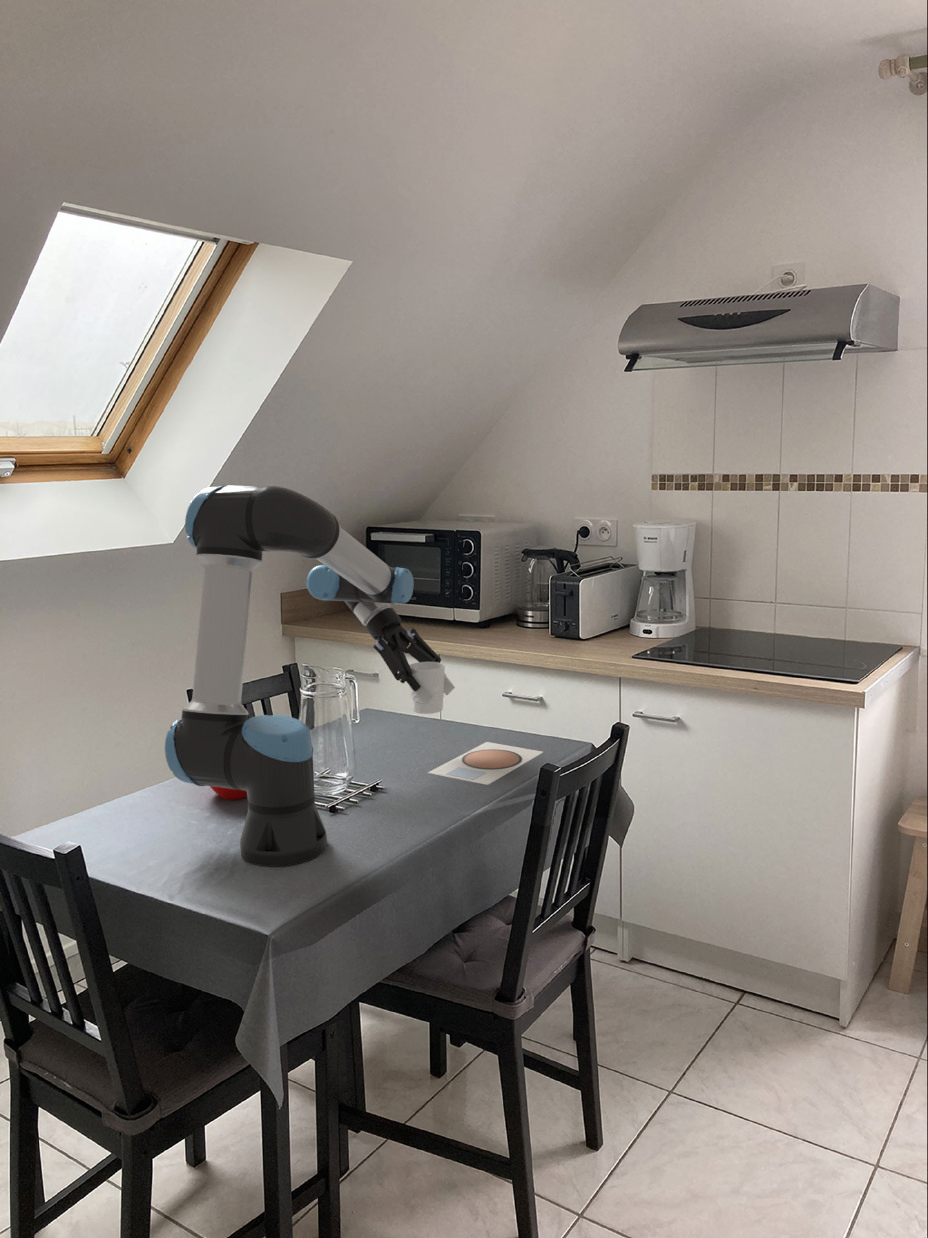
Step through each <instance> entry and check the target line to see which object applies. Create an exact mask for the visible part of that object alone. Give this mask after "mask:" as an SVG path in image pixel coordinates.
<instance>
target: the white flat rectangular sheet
mask: <svg viewBox="0 0 928 1238" xmlns="http://www.w3.org/2000/svg"><path fill="white" fill-rule="evenodd" d="M489 749H497V750H507V751H511V752H515V753H517V754H519V755H520V756H521V757H522V761H521V762H520V763H519V764H518V765H515V766H513V767H509V768H504V769H492V770H489V769H478V768H473V767H469V766H467V765H465V764H464V763H463V762H462V758H463V756H465V755H466V754H468V753H471V752H474V751H479V750H489ZM543 753H544V751H542V750H541V751H540V750H535V749H529V748H524V747H518V746H513V745H507V744H500V743H495V742H490V741H486V742H484V743H482V744H480V745H478V746H476V747H474V748H472V749H470V750H468V751H466V752H465V753H462V754H461V755H458V756H457V757H455V758H453V759H451V760H449V761H447V762H445V763H444V764H441V765H440V766H438V767H435V768H434V769H432V770H430V771H428V772H427V774H431V775H436V776H441V777H445V778H446V777H447V778H450V779H451V778H452V779H456V780H459V781H460V780H461V781H465V782H471V783H476V784H481V785H485V786H486V785H487V786H489V785H491V784H493V783H494V782H496V781H497V780H499V779H500V778H503V777H504V776H505V775H508V774H509V773H511V772H512V771H515V770H516V769H517V768H520V767H521V766H523V765H524V764H526V763H528V762H530V761H531V760H533V759H534V758H536V757H538V756H540V755H541V754H543Z"/></svg>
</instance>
